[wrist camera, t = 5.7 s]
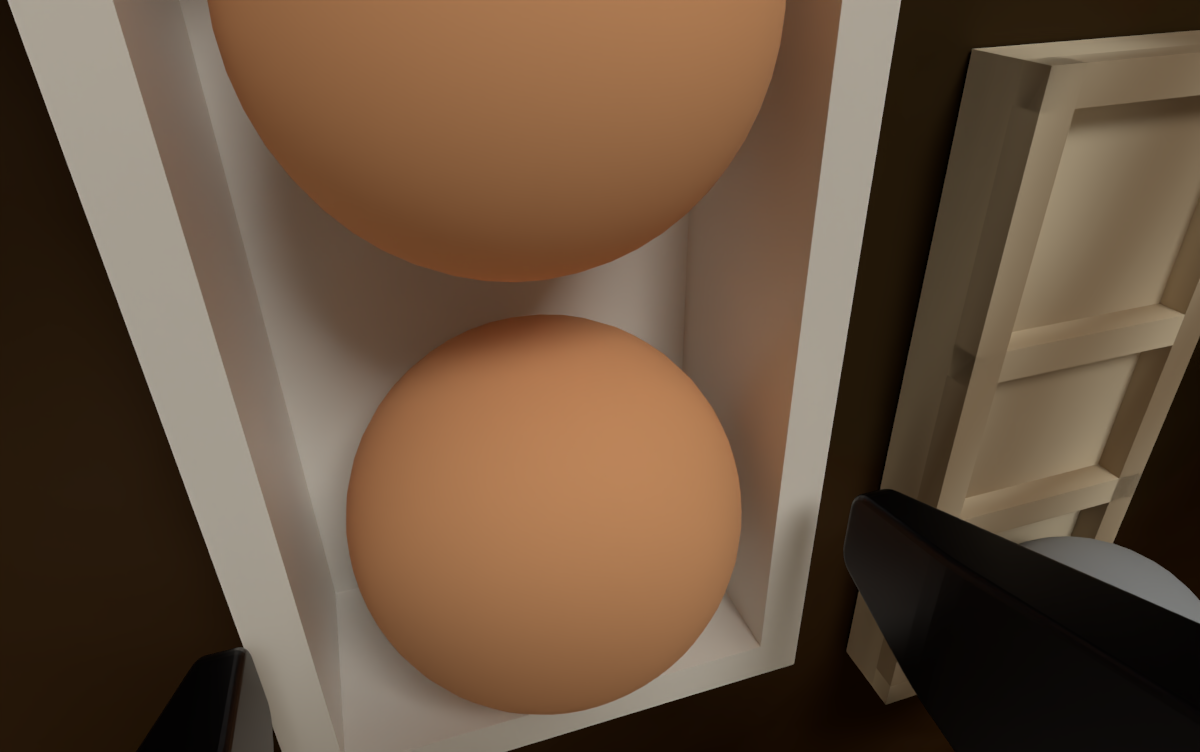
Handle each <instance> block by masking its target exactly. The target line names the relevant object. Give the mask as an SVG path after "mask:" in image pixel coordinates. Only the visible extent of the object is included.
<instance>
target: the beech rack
mask: <svg viewBox="0 0 1200 752" xmlns="http://www.w3.org/2000/svg"><path fill="white" fill-rule="evenodd" d="M1199 337H1200V30H1197V31H1185V32H1172V33H1160V34H1148V35H1136V36H1124V37H1112V38H1099V39H1087V40H1075V41H1063V42H1051V43H1039V44H1026V45H1014V46H1002V47H990V48H978V49H972V52H971V57H970V62H969V67H968V71H967V76H966V81H965V86H964V90H963V95H962V100H961V105H960V110H959V114H958V119H957V124H956V129H955V134H954V138H953V143H952V148H951V153H950V157H949V162H948V167H947V172H946V177H945V181H944V186H943V191H942V196H941V200H940V205H939V210H938V215H937V220H936V224H935V229H934V234H933V239H932V243H931V248H930V253H929V258H928V263H927V267H926V272H925V277H924V282H923V287H922V291H921V296H920V301H919V306H918V310H917V315H916V320H915V325H914V330H913V334H912V339H911V344H910V349H909V353H908V358H907V363H906V368H905V373H904V377H903V382H902V387H901V392H900V396H899V401H898V406H897V411H896V416H895V420H894V425H893V430H892V435H891V440H890V444H889V449H888V454H887V459H886V463H885V468H884V473H883V478H882V483H881V487H880V490H881V489H893V490H895V491H898V492H900V493H903V494H905V495H907V496H909V497H912V498H914V499H916V500H919V501H921V502H923V503H925V504H928V505H930V506H932V507H935V508H937V509H939V510H941V511H944V512H946V513H948V514H951V515H953V516H955V517H957V518H960V519H962V520H964V521H967V522H969V523H971V524H973V525H976V526H978V527H980V528H983V529H985V530H987V531H989V532H992V533H994V534H996V535H999V536H1001V537H1003V538H1006V539H1008V540H1010V541H1012V542H1015V543H1017V544H1020V543H1023V542H1026V541H1030V540H1035V539H1040V538H1046V537H1061V536H1071V537H1083V538H1091V539H1096V540H1100V541H1104V542H1109V543H1113V541H1114V539H1115V537H1116V534H1117V532H1118V529H1119V527H1120V525H1121V522H1122V520H1123V518H1124V515H1125V513H1126V510H1127V508H1128V506H1129V503H1130V501H1131V499H1132V496H1133V494H1134V491H1135V489H1136V487H1137V484H1138V482H1139V480H1140V477H1141V475H1142V472H1143V470H1144V468H1145V465H1146V463H1147V460H1148V458H1149V456H1150V453H1151V451H1152V449H1153V446H1154V444H1155V441H1156V439H1157V437H1158V434H1159V432H1160V430H1161V427H1162V425H1163V422H1164V420H1165V418H1166V415H1167V413H1168V411H1169V408H1170V406H1171V403H1172V401H1173V399H1174V396H1175V394H1176V391H1177V389H1178V387H1179V384H1180V382H1181V380H1182V377H1183V375H1184V372H1185V370H1186V368H1187V365H1188V363H1189V361H1190V358H1191V356H1192V353H1193V351H1194V349H1195V346H1196V344H1197V342H1198V339H1199ZM846 652H847V653H848V654H849V656H850V657H851V659H852V660H853V661H854V663H855V664H856V665H857V667H858V668H859V669H860V671H861V672H862V673H863V675H864V676H865V678H866V679H867V680H868V682H869V683H870V684H871V686H872V687H873V688H874V690H875V691H876V692H877V694H878V695H879V697H880V698H881V699H882V701H883V702H884V703H885V705H887V704H890V703H893V702H896V701H899V700H902V699H905V698H908V697H911V696H914V695H917V694H916V693H915V691H914V690H913V688H912V686H911V685H910V683H909V681H908V680H907V678H906V676H905V674H904V673H903V671H902V669H901V668H900V666H899V664H898V662H897V660H896V658H895V656H894V655H893V653H892V651H891V649H890V647H889V645H888V644H887V642H886V640H885V638H884V636H883V634H882V632H881V631H880V629H879V627H878V625H877V623H876V621H875V620H874V618H873V616H872V614H871V612H870V610H869V608H868V607H867V605H866V603H865V601H864V599H863V597H862V596H861V594H860V592H858V597H857V602H856V607H855V612H854V616H853V621H852V626H851V631H850V636H849V640H848V645H847V650H846Z"/></svg>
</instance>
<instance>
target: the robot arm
mask: <svg viewBox="0 0 1200 752" xmlns="http://www.w3.org/2000/svg"><path fill="white" fill-rule="evenodd" d="M843 551H844V560H845V564H846V567H847V569H848V571H849V573H850V575H851V577H852V579H853V581H854V583H855V584H856V586H857V588H858V590H859V592H860V594H861V596H862V597H863V599H864V601H865V603H866V605H867V607H868V608H869V610H870V612H871V614H872V616H873V618H874V620H875V621H876V623H877V625H878V627H879V629H880V631H881V632H882V634H883V636H884V638H885V640H886V642H887V644H888V645H889V647H890V649H891V651H892V653H893V655H894V656H895V658H896V660H897V662H898V664H899V666H900V668H901V669H902V671H903V673H904V674H905V676H906V678H907V680H908V681H909V683H910V685H911V686H912V688H913V690H914V691H915V693H916V694H917V696H918V697H919V699H920V700H921V702H922V704H923V705H924V707H925V708H926V710H927V711H928V713H929V714H930V715H931V717H932V718H933V720H934V721H935V723H936V724H937V726H938V727H939V729H940V730H941V732H942V733H943V735H944V736H945V738H946V739H947V741H948V742H949V744H950V745H951V746H952V748H953V749H954V751H955V752H1200V623H1198V622H1195V621H1193V620H1191V619H1188V618H1186V617H1184V616H1182V615H1179V614H1177V613H1175V612H1172V611H1170V610H1168V609H1166V608H1163V607H1161V606H1159V605H1156V604H1154V603H1152V602H1150V601H1147V600H1145V599H1143V598H1140V597H1138V596H1136V595H1134V594H1131V593H1129V592H1127V591H1124V590H1122V589H1120V588H1118V587H1115V586H1113V585H1111V584H1108V583H1106V582H1104V581H1102V580H1099V579H1097V578H1095V577H1092V576H1090V575H1088V574H1086V573H1083V572H1081V571H1079V570H1076V569H1074V568H1072V567H1070V566H1067V565H1065V564H1063V563H1060V562H1058V561H1056V560H1054V559H1051V558H1049V557H1047V556H1044V555H1042V554H1040V553H1038V552H1035V551H1033V550H1031V549H1028V548H1026V547H1024V546H1022V545H1019V544H1017V543H1015V542H1012V541H1010V540H1008V539H1006V538H1003V537H1001V536H999V535H996V534H994V533H992V532H989V531H987V530H985V529H983V528H980V527H978V526H976V525H973V524H971V523H969V522H967V521H964V520H962V519H960V518H957V517H955V516H953V515H951V514H948V513H946V512H944V511H941V510H939V509H937V508H935V507H932V506H930V505H928V504H925V503H923V502H921V501H919V500H916V499H914V498H912V497H909V496H907V495H905V494H903V493H900V492H898V491H895V490H893V489H881V490H877V491H873V492H869V493H865V494H861V495H859V496H857V497H856V498H855V500H854V501H853V502H852V506H851V511H850V516H849V521H848V526H847V532H846V537H845V542H844V549H843ZM136 752H274V750H273V731H272V720H271V713H270V708H269V704H268V701H267V698H266V695H265V692H264V689H263V687H262V684H261V681H260V678H259V675H258V673H257V670H256V667H255V664H254V662H253V659H252V656H251V654H250V653H249V651H248V650H247V649H245V648H241V647H238V648H234V649H230V650H226V651H222V652H218V653H214V654H210V655H206V656H203V657H201V658H199V659H198V660H197V661H196V662H195V663H194V664H193V666H192V667H191V669H190V670H189V672H188V673H187V675H186V676H185V678H184V679H183V681H182V682H181V684H180V685H179V687H178V689H177V690H176V692H175V693H174V695H173V696H172V698H171V699H170V701H169V702H168V704H167V705H166V707H165V708H164V710H163V712H162V713H161V715H160V716H159V718H158V719H157V721H156V722H155V724H154V725H153V727H152V728H151V730H150V731H149V733H148V734H147V736H146V738H145V739H144V741H143V742H142V744H141V745H140V747H139V748H138V750H137V751H136Z"/></svg>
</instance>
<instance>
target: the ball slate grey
mask: <svg viewBox="0 0 1200 752" xmlns="http://www.w3.org/2000/svg"><path fill="white" fill-rule="evenodd" d="M1019 545H1022V546H1024V547H1026V548H1028V549H1031V550H1033V551H1035V552H1038V553H1040V554H1042V555H1044V556H1047V557H1049V558H1051V559H1054V560H1056V561H1058V562H1060V563H1063V564H1065V565H1067V566H1070V567H1072V568H1074V569H1076V570H1079V571H1081V572H1083V573H1086V574H1088V575H1090V576H1092V577H1095V578H1097V579H1099V580H1102V581H1104V582H1106V583H1108V584H1111V585H1113V586H1115V587H1118V588H1120V589H1122V590H1124V591H1127V592H1129V593H1131V594H1134V595H1136V596H1138V597H1140V598H1143V599H1145V600H1147V601H1150V602H1152V603H1154V604H1156V605H1159V606H1161V607H1163V608H1166V609H1168V610H1170V611H1172V612H1175V613H1177V614H1179V615H1182V616H1184V617H1186V618H1188V619H1191V620H1193V621H1195V622H1198V623H1200V600H1199V599H1198V598H1197V597H1196V596H1195V595H1194V594H1193V593H1192V592H1191V590H1190V589H1189V588H1187V587H1186V586H1185V585H1184V584H1183V583H1182V582H1181V581H1179V580H1178V579H1177V578H1176V577H1175V576H1174V575H1172V574H1171V573H1170V572H1169V571H1167V570H1166V569H1164V568H1163V567H1161V566H1160V565H1158V564H1157V563H1155V562H1154V561H1152V560H1150V559H1148V558H1146V557H1144V556H1142V555H1140V554H1138V553H1136V552H1134V551H1132V550H1129V549H1127V548H1124V547H1121V546H1119V545H1116V544H1113V543H1109V542H1104V541H1100V540H1096V539H1091V538H1083V537H1071V536H1061V537H1046V538H1040V539H1035V540H1030V541H1026V542H1023V543H1020V544H1019Z"/></svg>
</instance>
